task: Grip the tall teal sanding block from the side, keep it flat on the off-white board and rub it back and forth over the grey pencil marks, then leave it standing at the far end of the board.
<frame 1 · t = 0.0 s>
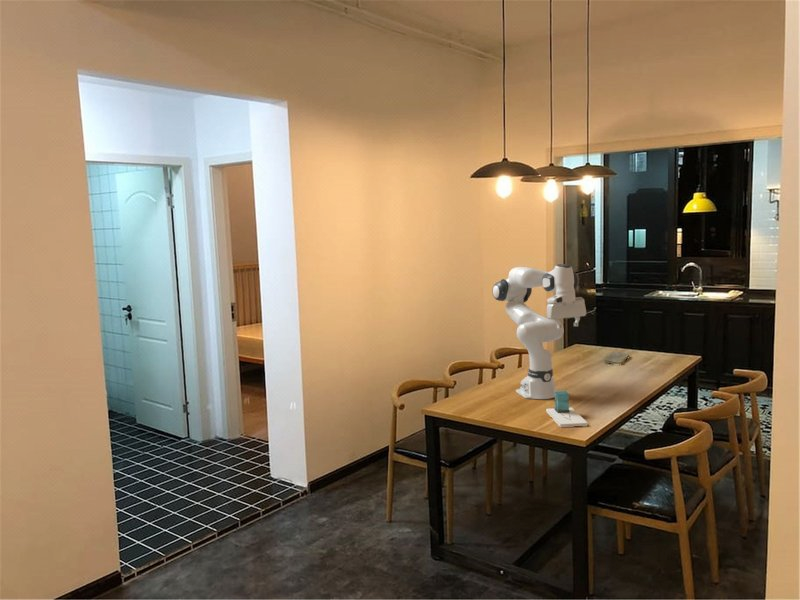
hand: (567, 327, 302), 39 cm above the table, tool pointing down, fingers open, 8 cm apart
sanding block: (561, 411, 295), point 2 cm above the table, touching board
stone slab: (616, 360, 406), on the table
board: (566, 418, 288), on the table
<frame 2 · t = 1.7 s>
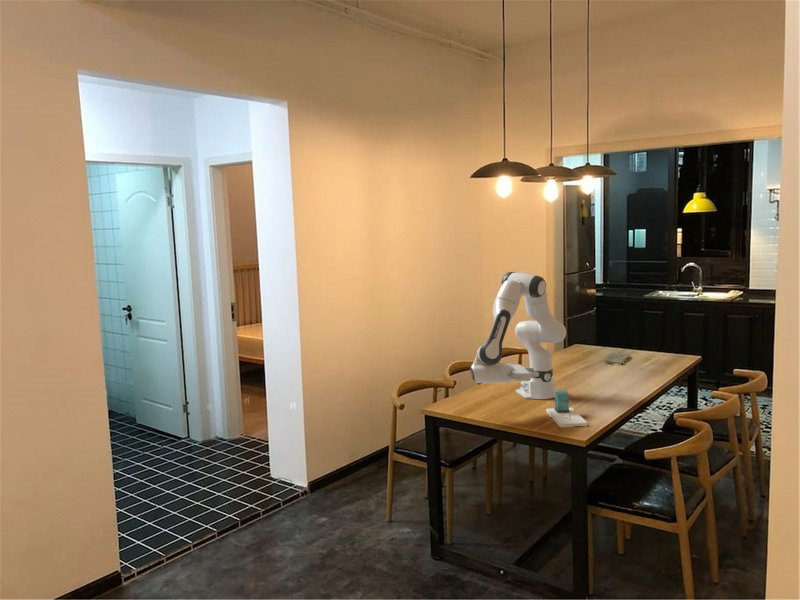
hand: (536, 372, 292), 21 cm above the table, tool horizontal, fingers open, 8 cm apart
nothing on the table moved.
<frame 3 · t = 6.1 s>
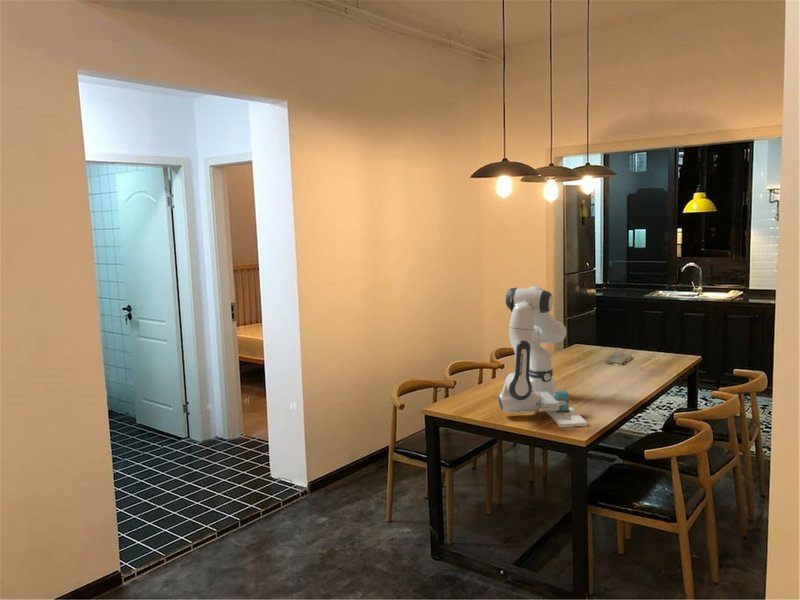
hand: (563, 400, 294), 7 cm above the table, tool horizontal, fingers closed on sanding block, 5 cm apart
sanding block: (561, 411, 295), point 2 cm above the table, touching board, gripper
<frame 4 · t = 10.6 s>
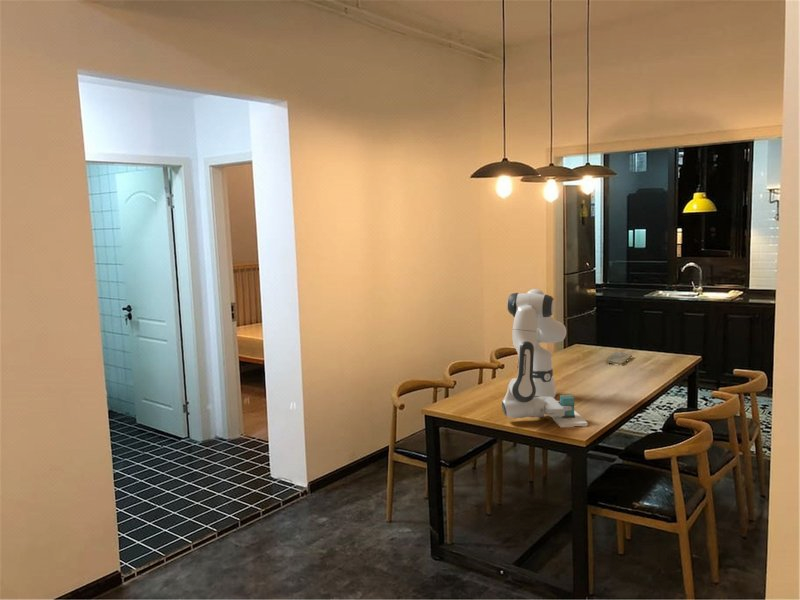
hand: (569, 405, 286), 6 cm above the table, tool horizontal, fingers closed on sanding block, 5 cm apart
sanding block: (567, 416, 287), point 2 cm above the table, touching gripper
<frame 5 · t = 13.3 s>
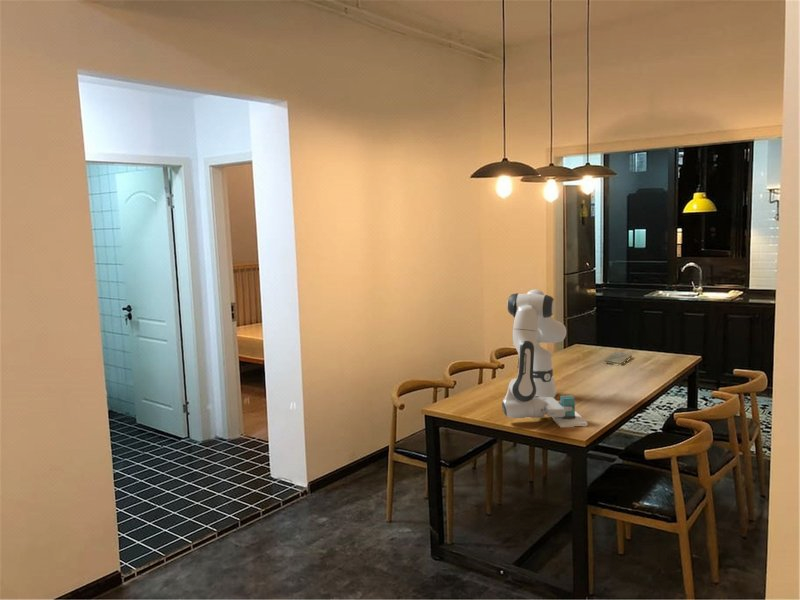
hand: (569, 406, 285), 7 cm above the table, tool horizontal, fingers closed on sanding block, 5 cm apart
sanding block: (567, 416, 285), point 2 cm above the table, touching gripper
when the fingers open (6 cm above the table, at t = 15.3 s): sanding block stays where it is, resting on board.
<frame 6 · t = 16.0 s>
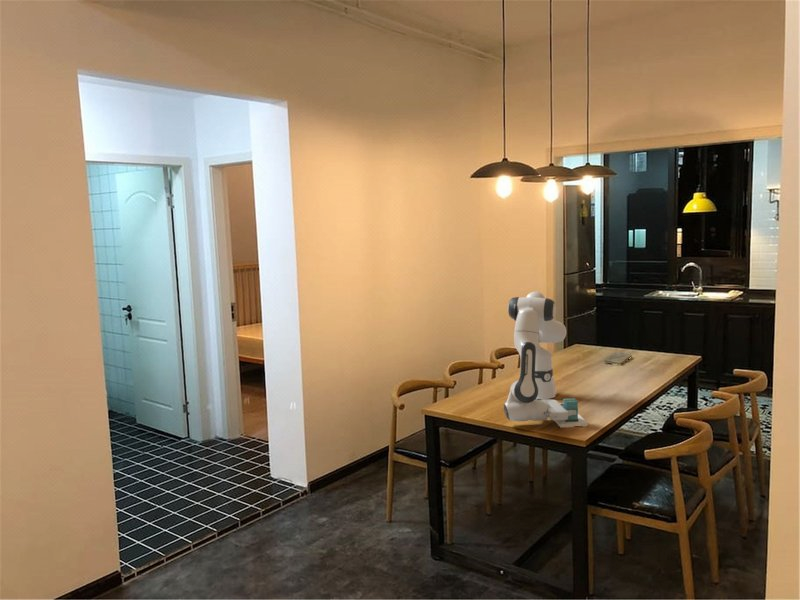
hand: (572, 409, 280), 6 cm above the table, tool horizontal, fingers open, 8 cm apart
sanding block: (570, 420, 281), point 2 cm above the table, touching board
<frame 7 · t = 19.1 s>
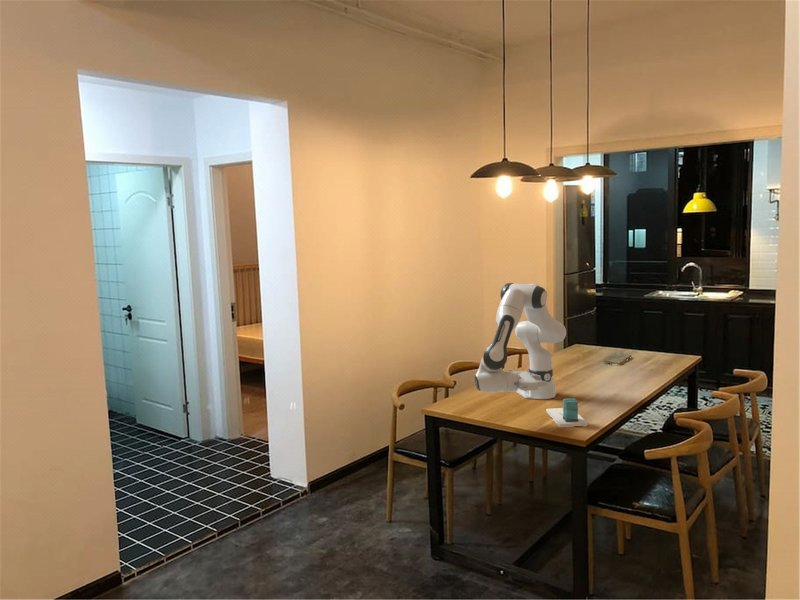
hand: (543, 380, 279), 20 cm above the table, tool horizontal, fingers open, 8 cm apart
nothing on the table moved.
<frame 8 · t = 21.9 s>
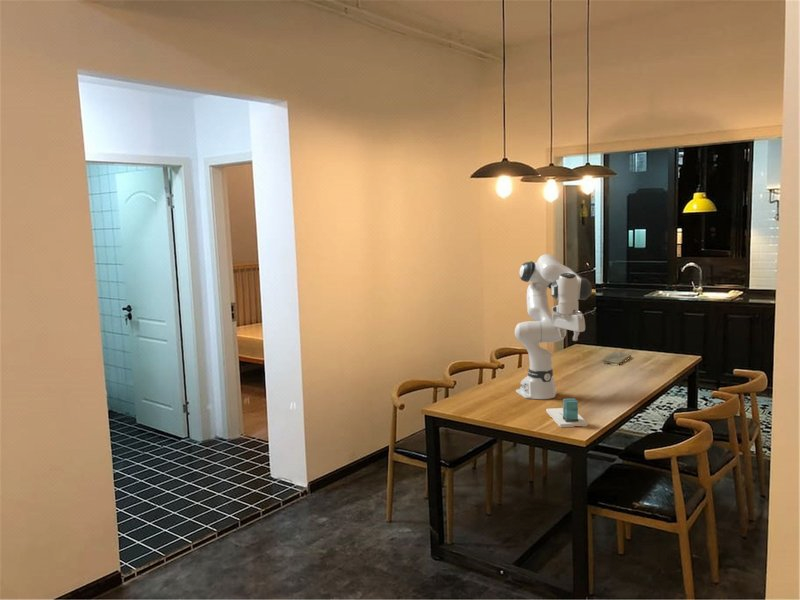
hand: (568, 339, 292), 35 cm above the table, tool pointing down, fingers open, 8 cm apart
nothing on the table moved.
at the end: sanding block inside the target area on the board (0.6 cm from its centre), point 1.5 cm above the board's base; sanding block tilted 1°; the gripper is holding nothing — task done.
